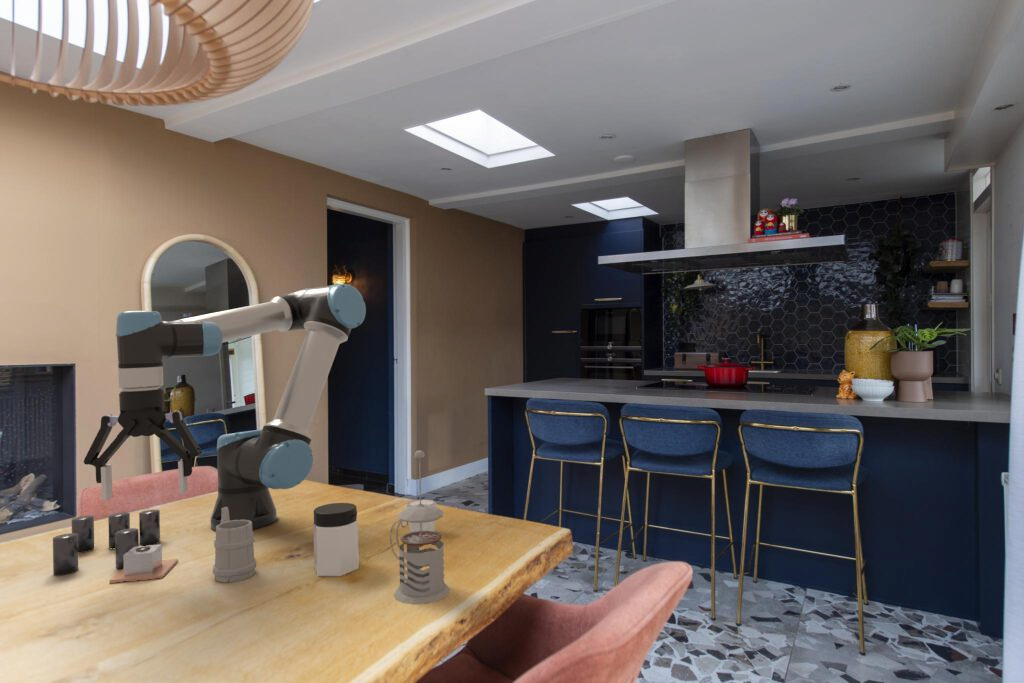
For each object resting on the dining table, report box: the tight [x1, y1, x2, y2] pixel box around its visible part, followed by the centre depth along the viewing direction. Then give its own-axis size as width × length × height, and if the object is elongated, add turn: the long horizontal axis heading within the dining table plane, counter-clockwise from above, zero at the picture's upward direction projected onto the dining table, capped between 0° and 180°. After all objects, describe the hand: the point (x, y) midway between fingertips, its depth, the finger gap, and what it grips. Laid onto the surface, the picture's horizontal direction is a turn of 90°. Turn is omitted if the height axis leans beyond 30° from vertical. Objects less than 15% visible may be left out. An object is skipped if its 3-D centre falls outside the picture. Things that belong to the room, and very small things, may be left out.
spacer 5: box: [138, 509, 161, 546], centre depth 135 cm, size 4×4×7 cm
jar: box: [312, 502, 360, 577], centre depth 116 cm, size 9×8×12 cm
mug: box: [212, 507, 257, 583], centre depth 115 cm, size 8×12×12 cm, turn 42°
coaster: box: [109, 558, 179, 584], centre depth 116 cm, size 9×9×1 cm
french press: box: [389, 449, 451, 605], centre depth 105 cm, size 10×12×25 cm
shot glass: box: [406, 499, 437, 533], centre depth 137 cm, size 7×7×7 cm
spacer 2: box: [71, 515, 95, 553], centre depth 131 cm, size 4×4×7 cm
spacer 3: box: [107, 511, 131, 550], centre depth 133 cm, size 4×4×7 cm
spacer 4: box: [114, 527, 140, 570], centre depth 120 cm, size 4×4×7 cm
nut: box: [123, 543, 163, 576], centre depth 116 cm, size 5×5×4 cm
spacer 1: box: [52, 532, 79, 576], centre depth 118 cm, size 4×4×7 cm
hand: (145, 495), depth 117 cm, fingers open, 13 cm apart
